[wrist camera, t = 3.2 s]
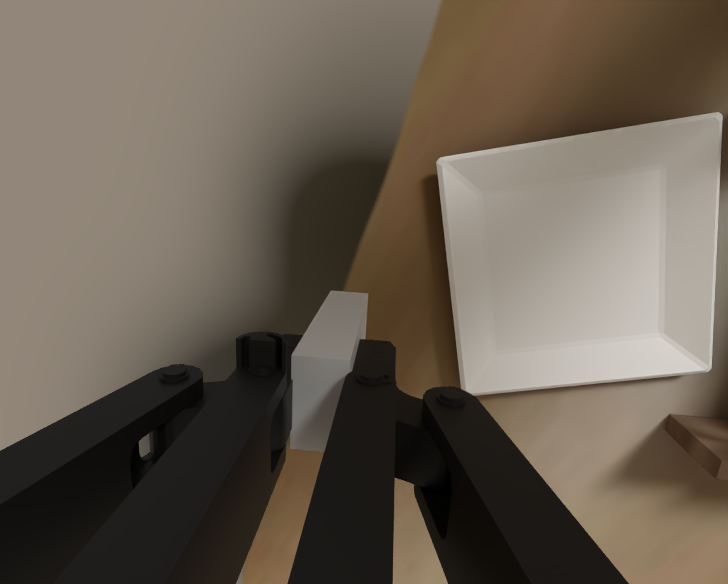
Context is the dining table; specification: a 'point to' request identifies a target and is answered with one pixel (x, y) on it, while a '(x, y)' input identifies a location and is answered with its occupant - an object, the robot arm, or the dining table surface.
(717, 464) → the overhang shelf
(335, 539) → the robot arm
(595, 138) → the plate
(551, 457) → the dining table surface
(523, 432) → the dining table surface
